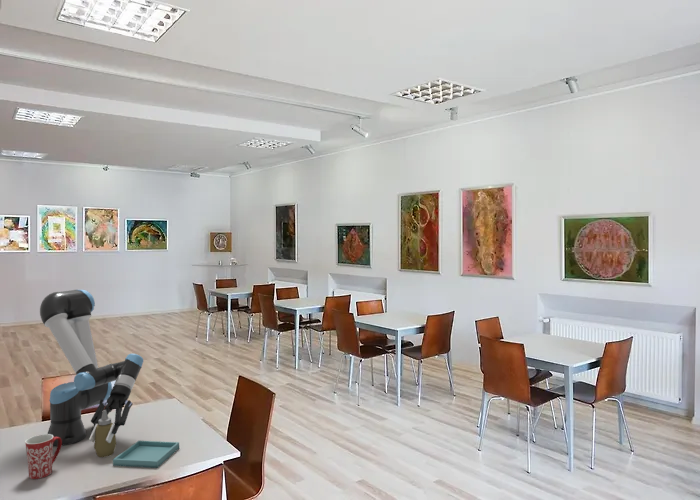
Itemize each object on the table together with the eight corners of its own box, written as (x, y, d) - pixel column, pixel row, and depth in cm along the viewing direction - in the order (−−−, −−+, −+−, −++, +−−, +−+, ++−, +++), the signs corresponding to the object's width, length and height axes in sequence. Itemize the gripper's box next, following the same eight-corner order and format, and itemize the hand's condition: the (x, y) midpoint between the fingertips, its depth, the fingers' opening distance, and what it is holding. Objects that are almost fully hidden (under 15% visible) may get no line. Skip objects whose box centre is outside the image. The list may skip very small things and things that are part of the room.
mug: (34, 482, 179) (33, 445, 179) (20, 477, 184) (19, 440, 183) (69, 468, 190) (68, 433, 190) (55, 463, 195) (54, 429, 195)
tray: (112, 465, 192) (112, 459, 192) (138, 446, 210) (138, 440, 210) (157, 468, 190) (156, 461, 190) (179, 448, 208) (179, 442, 208)
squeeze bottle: (91, 455, 202) (90, 410, 202) (111, 448, 208) (110, 405, 208) (99, 460, 197) (98, 415, 196) (119, 454, 203) (119, 410, 202)
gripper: (147, 393, 216) (126, 446, 200) (105, 391, 218) (81, 444, 203) (140, 384, 210) (118, 438, 195) (97, 383, 213) (72, 436, 197)
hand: (99, 441), depth 199 cm, fingers closed on squeeze bottle, 6 cm apart
